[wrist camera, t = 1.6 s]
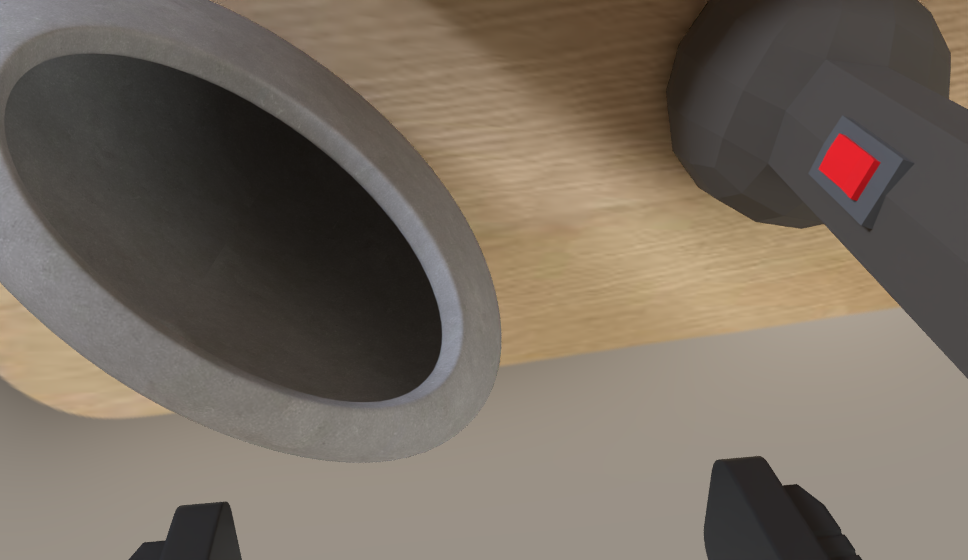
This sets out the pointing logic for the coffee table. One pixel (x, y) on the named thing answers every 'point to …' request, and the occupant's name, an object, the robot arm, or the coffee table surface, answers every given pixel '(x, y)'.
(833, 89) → the flashlight
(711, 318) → the coffee table surface
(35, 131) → the planter
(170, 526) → the robot arm
